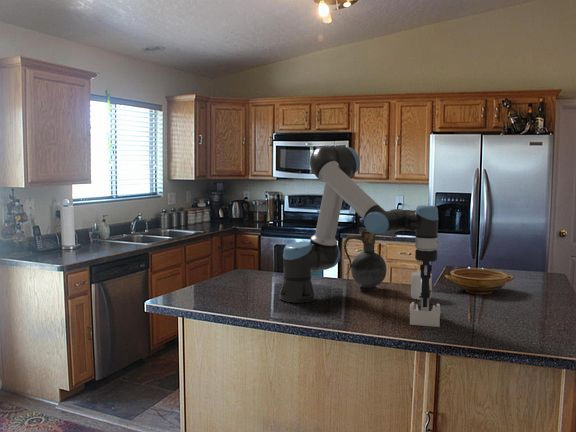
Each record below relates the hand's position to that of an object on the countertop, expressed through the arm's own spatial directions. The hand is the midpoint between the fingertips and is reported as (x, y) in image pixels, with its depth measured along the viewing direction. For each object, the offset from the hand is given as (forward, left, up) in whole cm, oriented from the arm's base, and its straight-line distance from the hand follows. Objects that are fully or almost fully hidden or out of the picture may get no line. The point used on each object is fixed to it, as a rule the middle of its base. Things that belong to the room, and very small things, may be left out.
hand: (424, 313), depth 187 cm
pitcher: (-27, +42, -3) cm, 50 cm away
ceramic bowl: (+22, +52, -3) cm, 57 cm away
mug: (-2, +31, -3) cm, 31 cm away
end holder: (0, -1, -3) cm, 3 cm away
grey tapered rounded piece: (0, 0, -1) cm, 1 cm away
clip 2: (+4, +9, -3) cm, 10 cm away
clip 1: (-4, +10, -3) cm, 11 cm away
